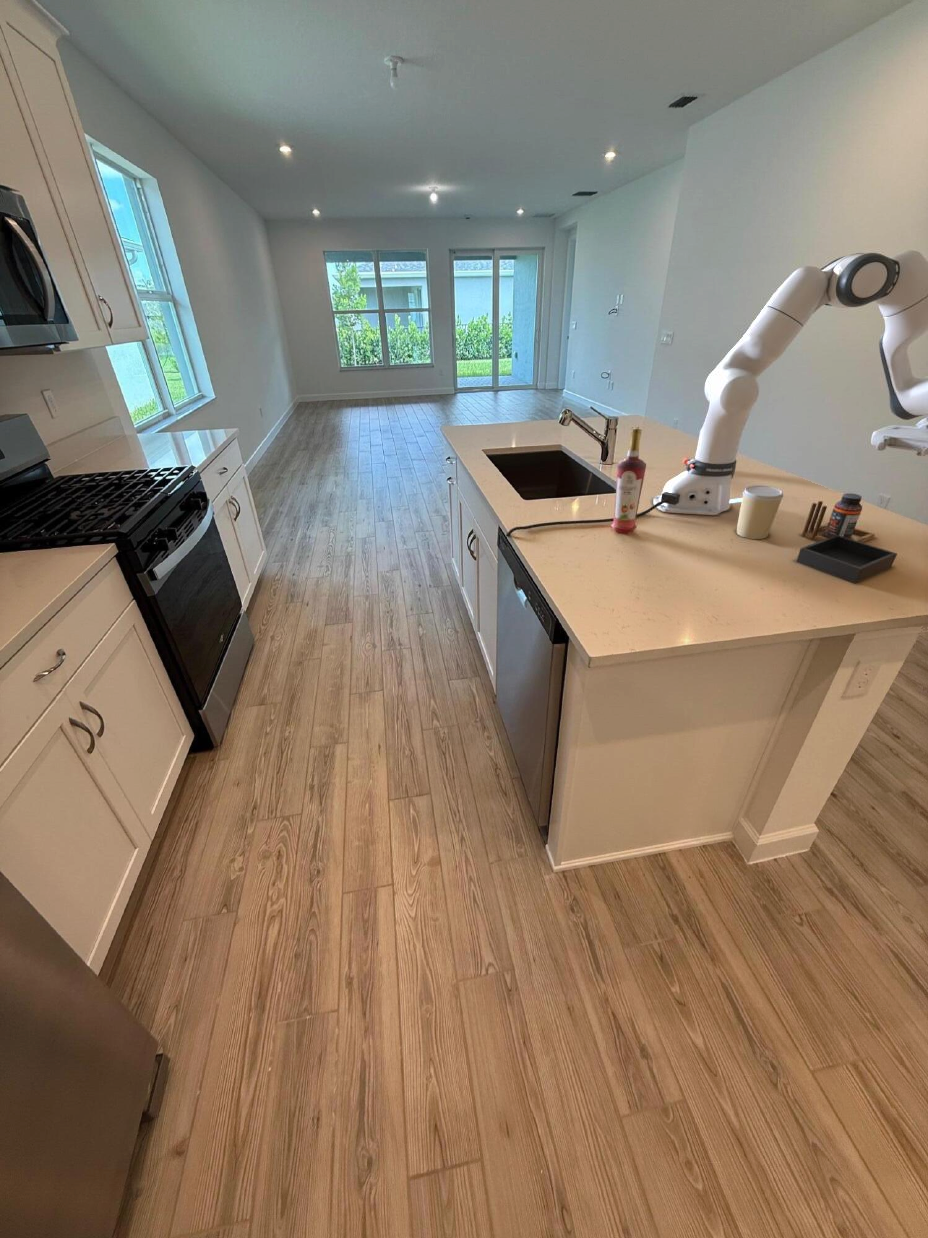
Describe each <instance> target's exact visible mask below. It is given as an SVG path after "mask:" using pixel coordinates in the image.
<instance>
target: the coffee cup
mask: <svg viewBox="0 0 928 1238" xmlns="http://www.w3.org/2000/svg"><path fill="white" fill-rule="evenodd" d="M741 498H742V501H741V502H740V503H741V504H740V508H739V513H738V519H737V526H736V534H737V535H738V536H740V537H743V538H745V539H750V540H751V539H752V540H762V539H765V538H767V537H769V534H770V532H771V529H772V526H773V523H774V521H775V518H776V515H777V513H778V510H779V508H780V504H781V502H782V499H783V498H784V493H783V490H781V489H779V488H777V487H773V486H768V485H750V486H747V487H745V488H744V490H743V491H742V497H741Z"/></svg>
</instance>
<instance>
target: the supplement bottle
mask: <svg viewBox="0 0 928 1238" xmlns="http://www.w3.org/2000/svg"><path fill="white" fill-rule="evenodd" d="M862 497H863V496H862V495H861V494H857V493H850V492H848V493H843V494H842V497H841V500H839V501H837V502H836V503H835V504H834V505H833V508H832V511H831V514H830V517H829V519H828V522H827V523H828V525H827V528H826V529H824V530H825V531H824V536H825V537H826V538H829V537H832V536H835V535H839V536H843V537H846V538H849V539H852V536H853V534H854V533H853V531H854V529H855V528H856V526H857V523H858V520H859V519H860V516H861V513H862V510H863V505H862V504H861V501H862V499H863V498H862Z"/></svg>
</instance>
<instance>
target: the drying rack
mask: <svg viewBox="0 0 928 1238" xmlns="http://www.w3.org/2000/svg"><path fill="white" fill-rule="evenodd" d="M823 503H824V501H822V500H819V501H818V502H817V503H816V502H812V503H811V507H810V508H809V512H808V514H807V518H806V522H805V525H804V528H803V531H802V534H801V537H805V538H807V539H811V540H813V541H816V542H819V541H821V540H824V539H827V538H828V537H826V536H825V537H824V536H822V535H819V532H821V531H824V530H826V528H827V525H828V522H826V523H823V520H824V517H825V514H826V511H827V508H828V506H827V505H823ZM822 523H823V524H822ZM853 534H854V535H857V536H861V537H858V538H856V539H854V540H855V541H859V542H862V543H864V542H865V543H866V542H867V541H870V540H872V539H874V538H875V533H873V532H870V531H866V530H863V529H859V528H856V527H855V529H854V531H853Z"/></svg>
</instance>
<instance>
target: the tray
mask: <svg viewBox="0 0 928 1238" xmlns="http://www.w3.org/2000/svg"><path fill="white" fill-rule="evenodd" d="M826 538H827V539H824V540H821V541H816V542H814V543H810V544H808V545H805V546H802V547H800V549H799V552H798V555H797V557H796V561H795V562H796V563H799V564H801V565H804V566H807V567H808V568H809V567H810V568H812V569H815V570H818V571H820V572H823V573H826V574H829V575H832V576H833V577H834V576H835V577H837V578H839V579H841V580H845V581H848V582H849V583H853V584H857V583H859V582H861V581H865V580H866V579H868V578H871V577H873V576H875V575H877V574H880V573H882V572H884V571H886V570H889V569H891V568H892V566H893V564H894V562H895V560H896V557H897V556H898V553H897V552H895V551H890V550H887V549H884V548H881V547H877V546H874V545H872V544H868V543H866V542H865V543H864V542H859V541H855V539H852V538H850V539H849V538H846V537H843V536H839V535H835V536H832V537H829V538H828V537H826Z"/></svg>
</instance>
